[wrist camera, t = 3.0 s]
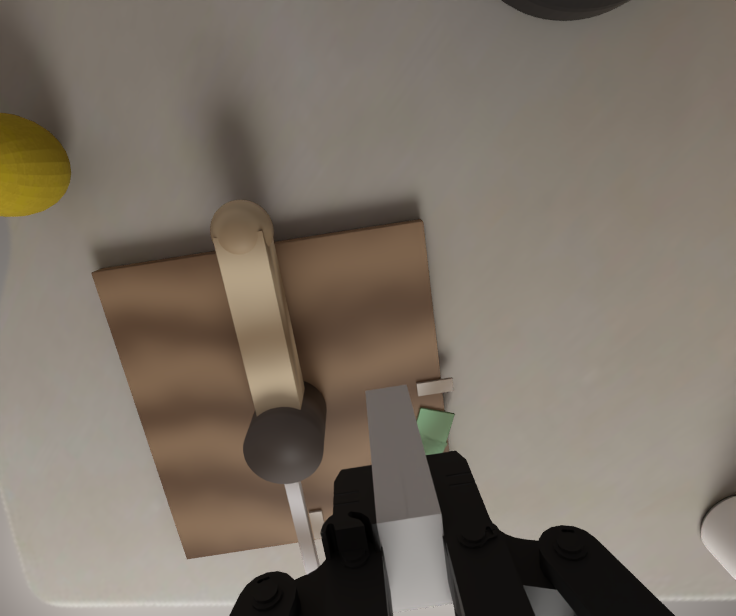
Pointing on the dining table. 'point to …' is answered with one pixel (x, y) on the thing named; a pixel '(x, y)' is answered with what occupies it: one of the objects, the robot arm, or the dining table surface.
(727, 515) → the can
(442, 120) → the dining table surface
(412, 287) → the board
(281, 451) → the tan long two-tone device
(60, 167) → the lemon
